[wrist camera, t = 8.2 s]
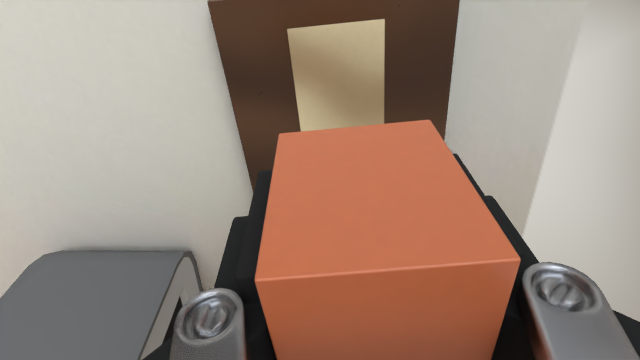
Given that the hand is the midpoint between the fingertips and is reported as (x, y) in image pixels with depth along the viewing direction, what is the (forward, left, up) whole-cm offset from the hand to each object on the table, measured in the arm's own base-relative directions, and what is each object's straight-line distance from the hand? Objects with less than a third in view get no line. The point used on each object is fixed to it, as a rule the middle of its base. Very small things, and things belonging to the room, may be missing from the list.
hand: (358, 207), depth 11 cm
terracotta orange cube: (0, 0, 0) cm, 0 cm away
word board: (+2, +6, -12) cm, 13 cm away
